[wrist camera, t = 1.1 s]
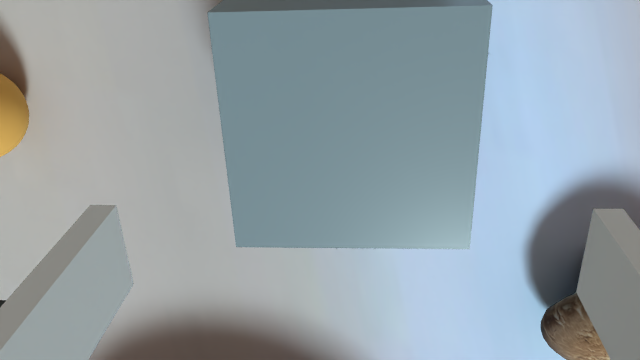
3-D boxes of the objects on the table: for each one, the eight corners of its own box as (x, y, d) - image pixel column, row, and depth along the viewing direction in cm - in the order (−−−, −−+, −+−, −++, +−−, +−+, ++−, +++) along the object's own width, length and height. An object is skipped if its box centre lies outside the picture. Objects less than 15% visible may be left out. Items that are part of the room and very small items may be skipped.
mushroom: (602, 229, 30) (644, 351, 27) (699, 240, 34) (744, 350, 31) (501, 277, 37) (526, 380, 34) (590, 282, 40) (620, 376, 37)
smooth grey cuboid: (266, 163, 33) (236, 247, 26) (250, -21, 29) (207, 12, 21) (444, 162, 33) (469, 249, 25) (457, -28, 28) (492, 5, 20)
